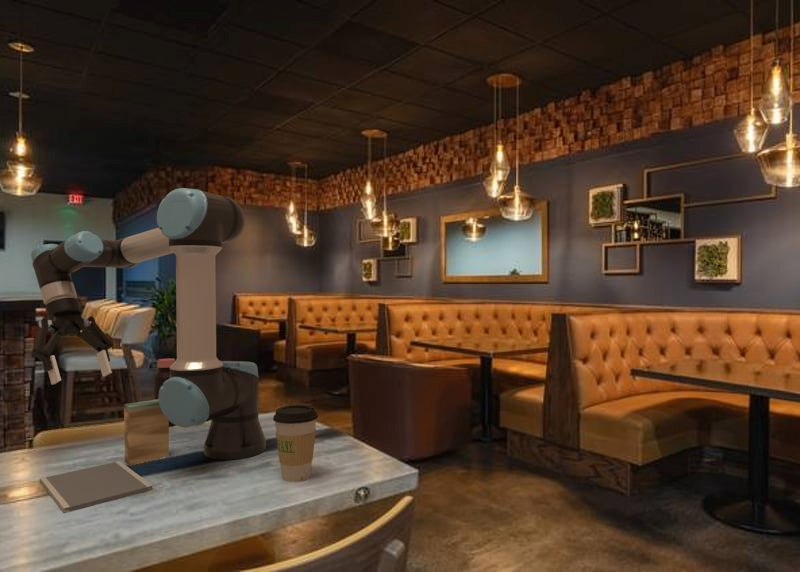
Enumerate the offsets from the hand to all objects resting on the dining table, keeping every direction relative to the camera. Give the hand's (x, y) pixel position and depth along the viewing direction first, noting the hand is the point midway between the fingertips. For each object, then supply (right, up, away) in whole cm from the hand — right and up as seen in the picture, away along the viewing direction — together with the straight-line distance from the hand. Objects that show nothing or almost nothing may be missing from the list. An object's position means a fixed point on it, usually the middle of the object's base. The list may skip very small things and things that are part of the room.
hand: (83, 378), depth 135 cm
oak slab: (+18, -19, -4) cm, 27 cm away
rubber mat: (+15, -19, -21) cm, 32 cm away
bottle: (+9, -19, +28) cm, 35 cm away
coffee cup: (+57, -19, -17) cm, 63 cm away
